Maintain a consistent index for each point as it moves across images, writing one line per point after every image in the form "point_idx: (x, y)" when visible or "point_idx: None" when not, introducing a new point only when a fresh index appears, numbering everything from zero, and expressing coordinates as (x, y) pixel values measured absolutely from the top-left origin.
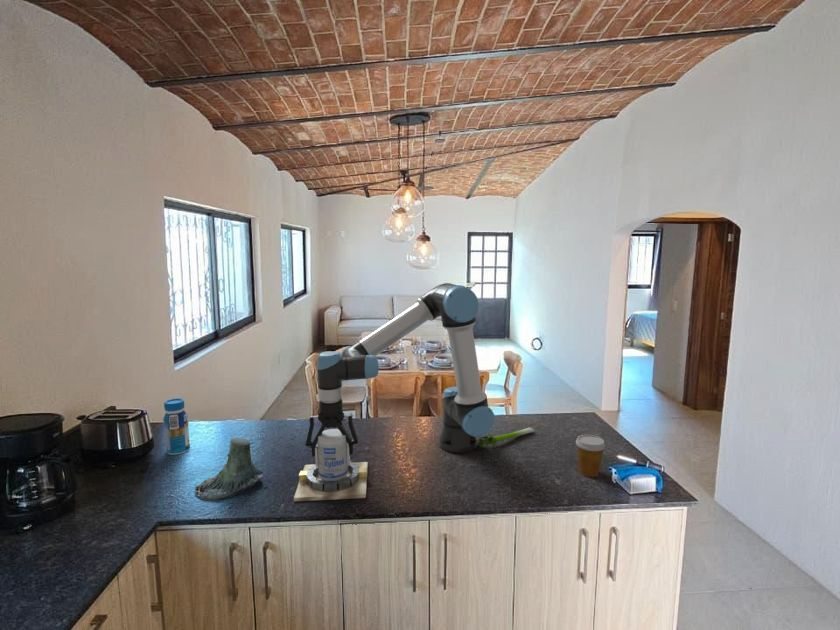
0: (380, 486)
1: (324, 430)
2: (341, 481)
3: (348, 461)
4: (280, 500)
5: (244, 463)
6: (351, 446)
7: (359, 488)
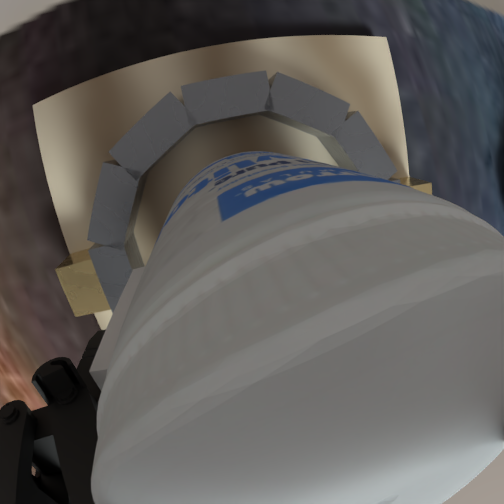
0: (12, 224)
1: (456, 492)
2: (159, 124)
3: (134, 281)
4: (426, 58)
5: None
6: (48, 365)
7: (71, 151)
